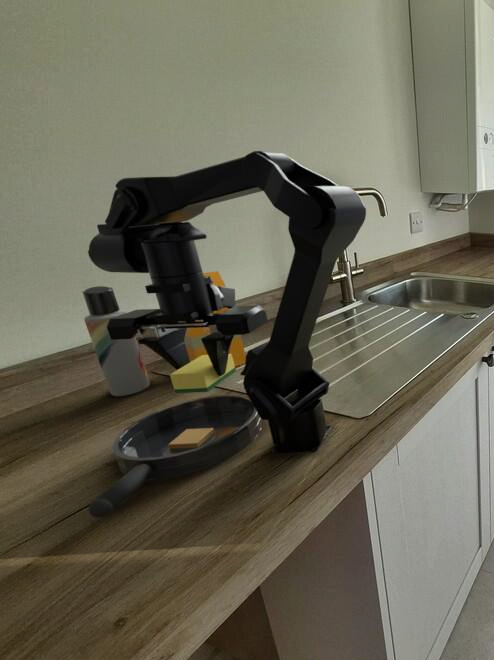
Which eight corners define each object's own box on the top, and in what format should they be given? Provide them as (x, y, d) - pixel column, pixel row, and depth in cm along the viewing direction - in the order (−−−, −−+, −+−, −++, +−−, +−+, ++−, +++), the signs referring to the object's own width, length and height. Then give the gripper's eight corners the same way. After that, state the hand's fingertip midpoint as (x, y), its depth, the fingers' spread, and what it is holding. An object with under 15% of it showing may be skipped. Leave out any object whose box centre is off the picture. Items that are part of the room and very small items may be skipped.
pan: (282, 410, 70) (278, 392, 69) (222, 478, 54) (216, 456, 53) (177, 415, 69) (171, 396, 68) (84, 486, 53) (74, 463, 52)
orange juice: (186, 368, 87) (159, 276, 80) (231, 354, 94) (210, 269, 87) (201, 377, 83) (175, 281, 76) (248, 362, 90) (227, 273, 83)
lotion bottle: (146, 379, 82) (115, 282, 76) (153, 388, 78) (121, 287, 72) (108, 390, 78) (71, 288, 71) (113, 400, 74) (76, 293, 68)
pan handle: (159, 474, 53) (154, 460, 52) (107, 521, 46) (101, 505, 45) (141, 475, 53) (136, 461, 52) (86, 522, 46) (79, 506, 45)
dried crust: (214, 432, 64) (213, 427, 63) (198, 447, 60) (196, 443, 59) (187, 433, 63) (186, 428, 63) (169, 449, 59) (167, 444, 59)
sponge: (206, 372, 65) (202, 354, 64) (236, 370, 65) (231, 353, 64) (175, 393, 58) (169, 374, 57) (207, 391, 59) (202, 372, 58)
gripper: (274, 261, 65) (293, 352, 70) (152, 265, 64) (179, 357, 69) (233, 276, 54) (258, 382, 59) (85, 280, 53) (123, 388, 58)
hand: (205, 375), depth 61 cm, fingers closed on sponge, 4 cm apart
